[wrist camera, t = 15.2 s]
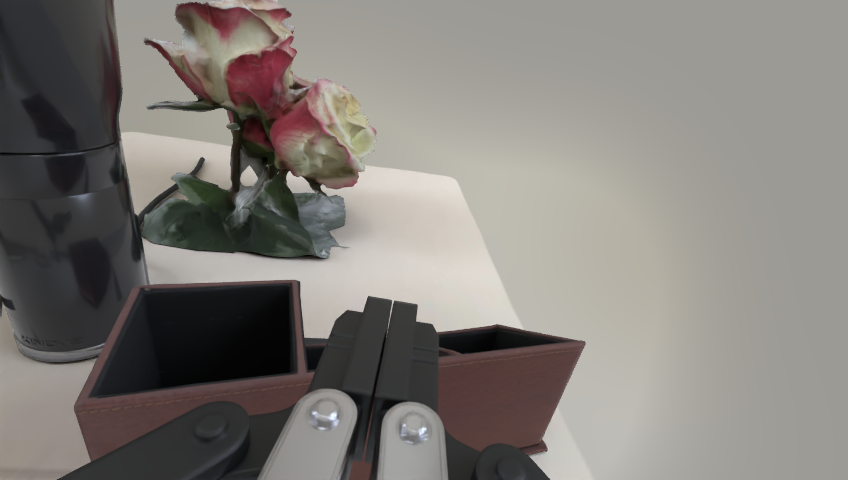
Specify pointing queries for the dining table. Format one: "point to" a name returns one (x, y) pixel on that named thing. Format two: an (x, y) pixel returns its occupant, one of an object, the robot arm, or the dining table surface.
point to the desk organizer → (298, 367)
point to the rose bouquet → (260, 136)
